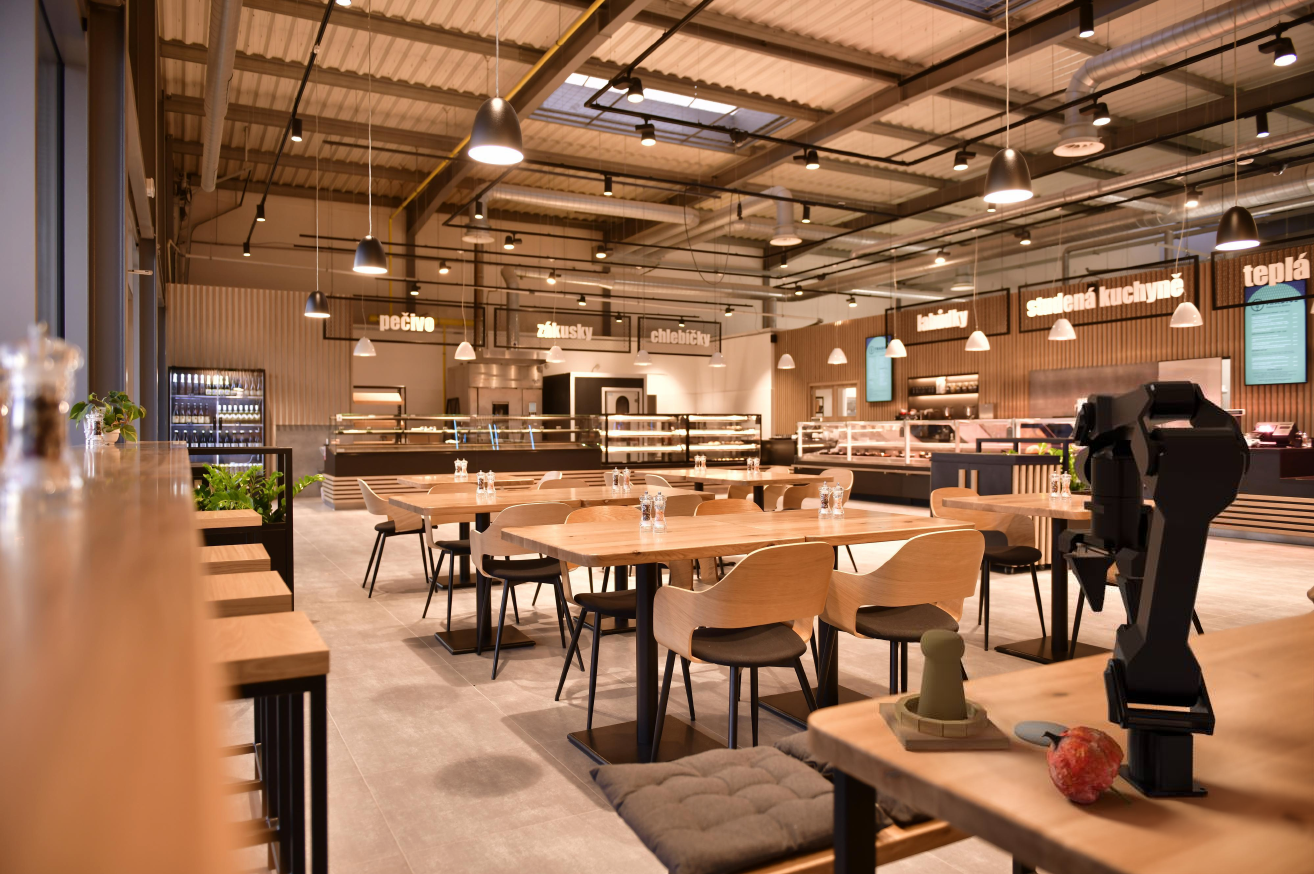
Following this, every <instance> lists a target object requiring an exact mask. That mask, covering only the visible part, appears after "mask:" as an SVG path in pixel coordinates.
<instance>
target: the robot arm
mask: <svg viewBox="0 0 1314 874" xmlns="http://www.w3.org/2000/svg"><path fill="white" fill-rule="evenodd" d="M1175 421H1188V422H1189V425H1190V426H1191V427H1157V426H1158V425H1164V424H1167V423H1172V422H1173V423H1174V422H1175ZM1073 426H1074V427H1073V430H1072V433H1071V434H1072V435H1071V436H1072V439H1073V442H1074V445H1075V446H1076V447H1084V448H1082V449H1081V450H1080V451H1079V452H1078V453H1077V454H1076V456H1075V458H1074V460H1073V462H1072V465H1073V466H1072V467H1073V472H1074V474H1075V476H1076V478H1077V479H1078V480H1079V481H1080V482H1081V483H1083V484H1084V485H1087V486H1088V487H1090V501H1089V500H1086V501H1085V500H1084V501H1083V510H1086V511H1089V512H1090V528H1087V529H1086V528H1085V529H1084V528H1083V529H1082V528H1081V529H1079V528H1078V529H1077V528H1076V529H1073V528H1071V529H1064V530H1063V531H1062V532H1061V533H1060V534H1059V535H1058V538H1057V539H1058V541H1057V542H1058V545H1057V548H1058V551H1060V552H1063V553H1064V554H1063V558H1064V560H1066V562H1067V564H1068V565H1069V567H1070V569H1071V571H1072V572H1073V574H1074V576H1075V578H1076V580H1077V582H1078V584H1079V586H1080V588H1081V590H1082V592H1083V594H1084V597H1085V598H1086V600H1087V603H1088V604H1089V607H1090V609H1091V611H1092V612H1094V613H1102V612H1103V608H1104V605H1105V604H1104V602H1105V598H1106V597H1105V596H1106V587H1107V580H1108V571H1109V570H1110V569H1111V567H1112V566H1113V565H1115V566H1116V569H1117V571H1118V573H1114V577H1115V580H1116V583H1117V586H1118V590H1119V593H1120V594H1119V595H1120V597H1121V599H1122V603H1123V606H1124V610H1125V614H1126V617H1127V620H1128V622H1129V623H1120V625H1119V626H1118V628H1117V629H1116V631H1115V632H1116V633H1115V642H1114V648H1113V650H1112V654H1113V655H1112V658H1108V660H1107V664H1106V668H1105V670H1104V671H1103V673H1102V677H1103V682H1104V689H1105V695H1106V700H1107V701H1106V702H1107V721H1108V722H1109V723H1112V724H1114V725H1118V726H1119V727H1120V729H1122V730H1127V743H1126V744H1127V746H1126V747H1127V748H1126V749H1127V750H1126V751H1127V756H1126V757H1127V758H1126V759H1127V764H1122V763H1121V764H1120V769H1119V772H1118V775H1120V776H1121V777H1122V778H1123V779H1124V780H1126V781H1127V782H1128V783H1129V784H1130V785H1132V786H1133V787H1134V788H1135V789H1137V790H1138V791H1139V792H1140V793H1142V794H1143V795H1145V796H1149V797H1150V796H1151V797H1152V796H1155V797H1157V796H1158V797H1159V796H1160V797H1161V796H1164V797H1166V796H1167V797H1168V796H1169V797H1170V796H1171V797H1172V796H1174V797H1175V796H1208V795H1209V789H1208V788H1206V787H1205V786H1204V785H1202V784H1201V783H1200V782H1198V781H1197V780H1195V779H1194V734H1196V735H1197V734H1198V735H1206V736H1211V737H1212V736H1214V732H1215V727H1216V725H1215V724H1216V716H1215V712H1214V710H1213V705H1212V702H1211V699H1210V695H1209V691H1208V689H1207V684H1206V682H1205V678H1204V673H1203V672H1202V671H1203V670H1202V667H1201V664H1200V663H1199V661H1198V659H1197V657H1196V656H1195V653H1194V651H1193V649H1192V648H1191V645H1190V643H1189V637H1190V631H1191V625H1192V621H1193V615H1194V610H1195V606H1196V600H1197V596H1198V589H1199V585H1200V580H1201V575H1202V574H1201V573H1202V568H1203V563H1204V557H1205V553H1206V552H1205V551H1206V548H1207V543H1208V542H1207V541H1208V537H1209V532H1210V526H1211V523H1212V522H1213V520H1215V519H1216V518H1217V517H1219V515H1220V514H1221V513H1223V512H1225V511H1226V509H1228V508H1229V507H1230V506H1231V505H1232V504H1233V503H1235V502H1236V501H1237V497H1238V494H1239V491H1240V487H1241V484H1242V481H1243V479H1244V477H1245V476H1247V474H1248V472H1249V470H1250V465H1251V453H1250V452H1251V451H1250V448H1249V444H1248V442H1247V440H1246V438H1245V436H1244V434H1243V432H1242V429H1241V427H1240V426H1239V423H1238V421H1237V419H1236V418H1235V416H1234V415H1233V414H1230V413H1229V412H1228V411H1226V410H1225V409H1223V408H1222V407H1220V406H1219V405H1217V404H1215V403H1214V402H1212V401H1211V400H1209V399H1208V398H1206V397H1205V395H1204V392H1203V390H1202V388H1201V386H1200V385H1199V383H1197V382H1191V381H1190V380H1153V381H1150V380H1149V381H1147V382H1146V383H1140V385H1139V387H1138V388H1135V389H1133V390H1129V391H1127V392H1120V393H1119V392H1118V393H1117V392H1116V393H1115V392H1114V393H1113V392H1109V393H1108V392H1106V393H1091V394H1089V395H1088V396H1087V399H1086V402H1083V403H1081V408H1080V410H1078V412H1077V415H1076V419H1075V422H1074V425H1073ZM1145 488H1146V490H1147V492H1148V493H1149V495H1150V498H1151V499H1152V500H1153V503H1154V507H1153V505H1152V504H1147V503H1145ZM1128 704H1131V705H1143V706H1156V707H1157V706H1159V707H1160V706H1161V707H1170V708H1171V707H1173V708H1184V709H1185V708H1189V711H1184V710H1171V709H1156V708H1155V709H1154V708H1143V707H1142V708H1140V707H1129V706H1128Z"/></svg>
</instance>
